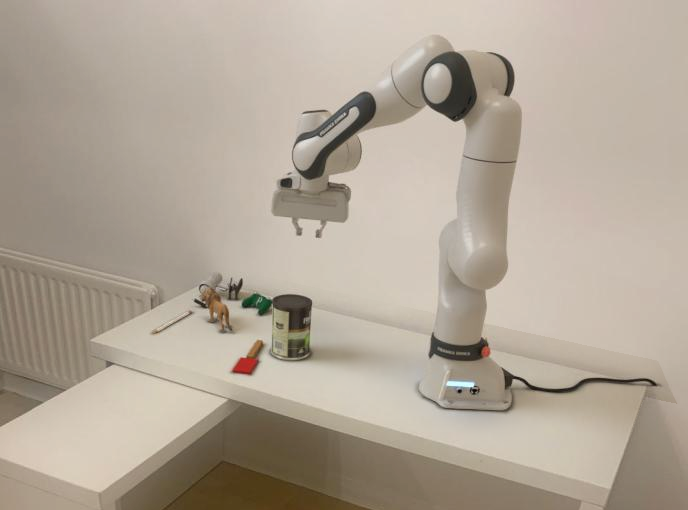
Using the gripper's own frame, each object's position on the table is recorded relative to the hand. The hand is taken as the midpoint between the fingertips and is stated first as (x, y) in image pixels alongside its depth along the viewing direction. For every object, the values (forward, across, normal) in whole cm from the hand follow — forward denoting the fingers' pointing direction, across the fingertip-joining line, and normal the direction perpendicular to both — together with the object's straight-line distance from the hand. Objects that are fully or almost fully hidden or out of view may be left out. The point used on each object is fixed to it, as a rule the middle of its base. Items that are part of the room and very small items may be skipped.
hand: (308, 236), depth 199 cm
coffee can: (+25, 0, +19) cm, 32 cm away
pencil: (+25, +36, +9) cm, 45 cm away
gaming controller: (+25, +16, -9) cm, 31 cm away
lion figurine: (+25, +24, +6) cm, 35 cm away
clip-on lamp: (+25, +30, -13) cm, 41 cm away
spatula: (+25, +9, +26) cm, 37 cm away
